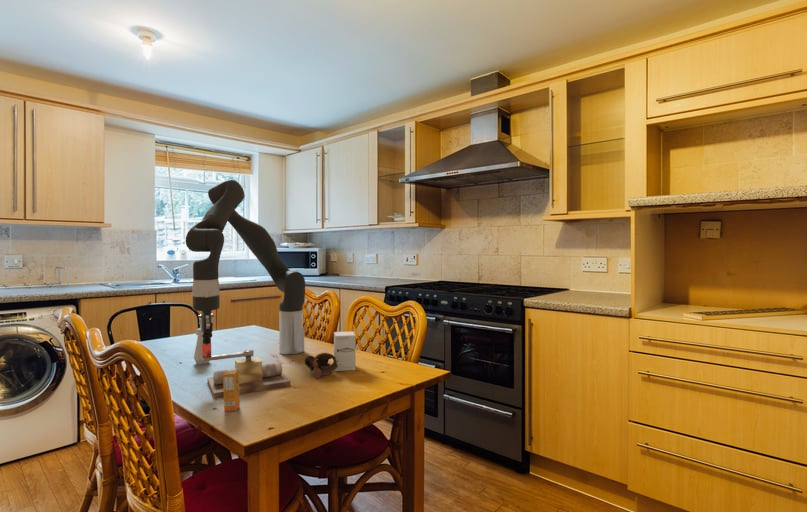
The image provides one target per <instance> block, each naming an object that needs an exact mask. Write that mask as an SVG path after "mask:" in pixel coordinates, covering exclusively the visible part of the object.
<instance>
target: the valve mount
mask: <svg viewBox="0 0 807 512" xmlns="http://www.w3.org/2000/svg"><path fill="white" fill-rule="evenodd" d="M227 371H238V376H239V395H243V394H249V393H255V392H261V391H266V390H272V389H277V388H284V386H285V387H290V386H291V380H290V378H288V377H287V376H286V375H285V374H284V373H283V366H282V363H281V362H273V363H265V364H263V360H261V359H260V357H258V356H255V357H253V356H252V357H244V358H240V359H234V368H228V369H222V370H221V369H220V370H215V371H213V372H212V373H213V374H212V375H213V376H212V377H206V378H207V384H208V387H209V389H210V392H211V394H212V397H213V399H218V398H224V392H223V375H224V374H225V373H226V372H227Z"/></svg>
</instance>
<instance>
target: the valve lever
mask: <svg viewBox="0 0 807 512" xmlns="http://www.w3.org/2000/svg"><path fill="white" fill-rule="evenodd" d="M254 353H255V352H254V349H245V350H243V351H241V352H239V351H237V352H229V353H224V354H223V353H222V354H214V355H213V354H212V342H211V343H203V344H202V358H203V361H209V362H210V361H218V360H225V359H226V360H227V359H236V358H243V357H244V358H246V357H251V358H253V356H254Z"/></svg>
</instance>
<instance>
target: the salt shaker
mask: <svg viewBox="0 0 807 512" xmlns="http://www.w3.org/2000/svg"><path fill="white" fill-rule="evenodd" d="M201 332H202V331H201V329H200V327H199V328H197V329H196V331H195V335H196V336H197V340H196V344H195V349H194V356H193V359H194V361H195V363H196V365H198V364H203V365H207V364H209V363H210V361H203V358H202V344H203V338H202V333H201Z"/></svg>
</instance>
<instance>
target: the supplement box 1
mask: <svg viewBox="0 0 807 512" xmlns="http://www.w3.org/2000/svg"><path fill="white" fill-rule="evenodd" d="M223 392H224V397H223V411H224V412H236V411H238V408H240V405H241V403H240V400H241V399H240V394H239V376H238V371H227V372H226V373H225V374H224V375H223Z"/></svg>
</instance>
